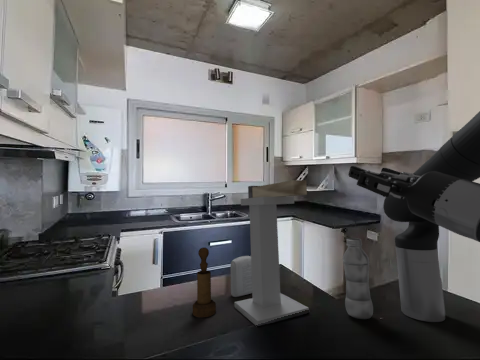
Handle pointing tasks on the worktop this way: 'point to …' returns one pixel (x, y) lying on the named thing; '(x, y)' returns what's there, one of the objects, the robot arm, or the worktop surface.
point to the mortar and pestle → (204, 289)
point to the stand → (266, 264)
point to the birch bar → (279, 189)
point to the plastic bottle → (357, 280)
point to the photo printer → (241, 276)
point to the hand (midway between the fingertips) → (366, 171)
